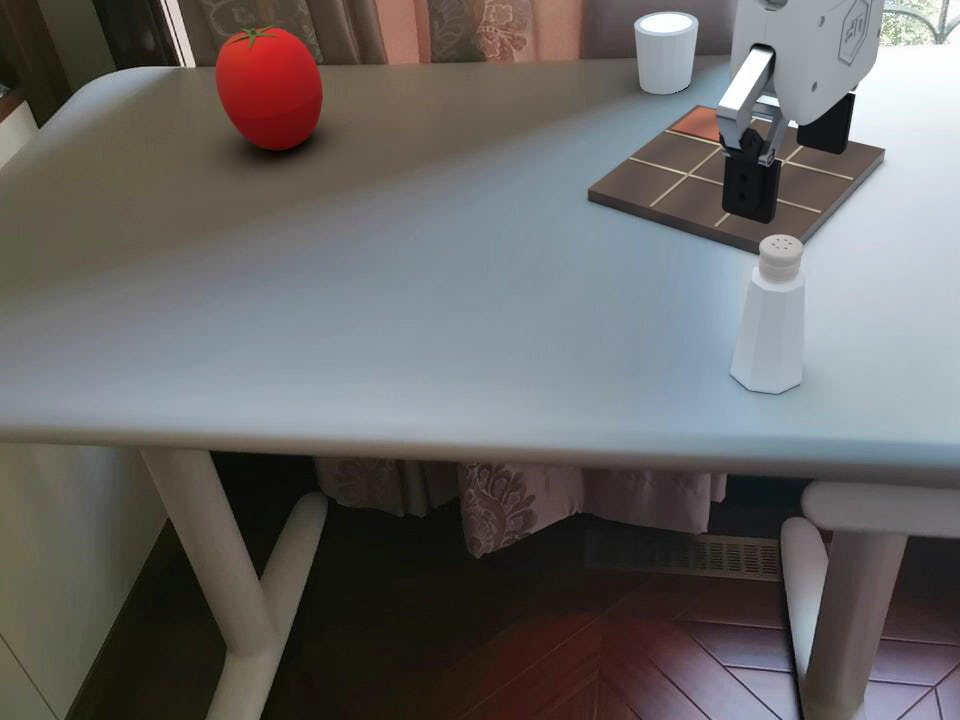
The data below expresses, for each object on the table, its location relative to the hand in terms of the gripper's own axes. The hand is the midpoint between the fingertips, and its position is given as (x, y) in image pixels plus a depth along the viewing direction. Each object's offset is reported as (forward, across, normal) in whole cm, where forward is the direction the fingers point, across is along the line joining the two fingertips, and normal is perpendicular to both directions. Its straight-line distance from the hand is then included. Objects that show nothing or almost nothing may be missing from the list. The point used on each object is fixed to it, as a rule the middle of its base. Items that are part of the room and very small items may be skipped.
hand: (785, 180), depth 60 cm
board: (+16, +24, +15) cm, 32 cm away
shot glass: (+16, +38, +32) cm, 52 cm away
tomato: (+16, +7, +61) cm, 63 cm away
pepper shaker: (+16, 0, 0) cm, 16 cm away
